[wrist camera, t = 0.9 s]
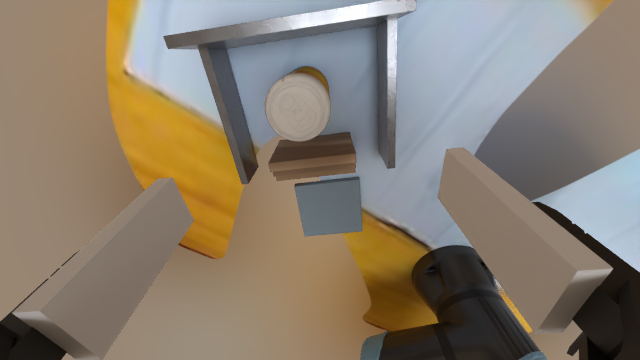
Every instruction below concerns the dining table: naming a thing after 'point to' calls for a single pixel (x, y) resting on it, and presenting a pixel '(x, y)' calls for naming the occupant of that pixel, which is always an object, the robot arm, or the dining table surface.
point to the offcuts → (314, 157)
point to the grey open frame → (295, 26)
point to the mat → (330, 206)
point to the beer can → (299, 104)
